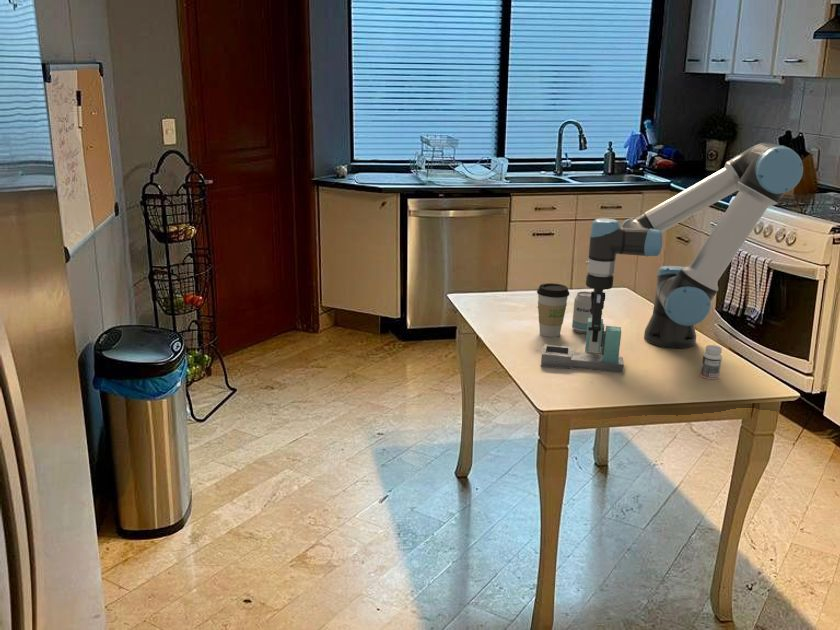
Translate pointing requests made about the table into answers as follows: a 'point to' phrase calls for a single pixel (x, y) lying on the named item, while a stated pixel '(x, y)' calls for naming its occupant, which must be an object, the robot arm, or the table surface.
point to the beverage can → (581, 311)
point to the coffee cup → (551, 308)
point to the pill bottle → (711, 362)
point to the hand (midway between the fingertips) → (593, 344)
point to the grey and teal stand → (587, 355)
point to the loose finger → (589, 335)
